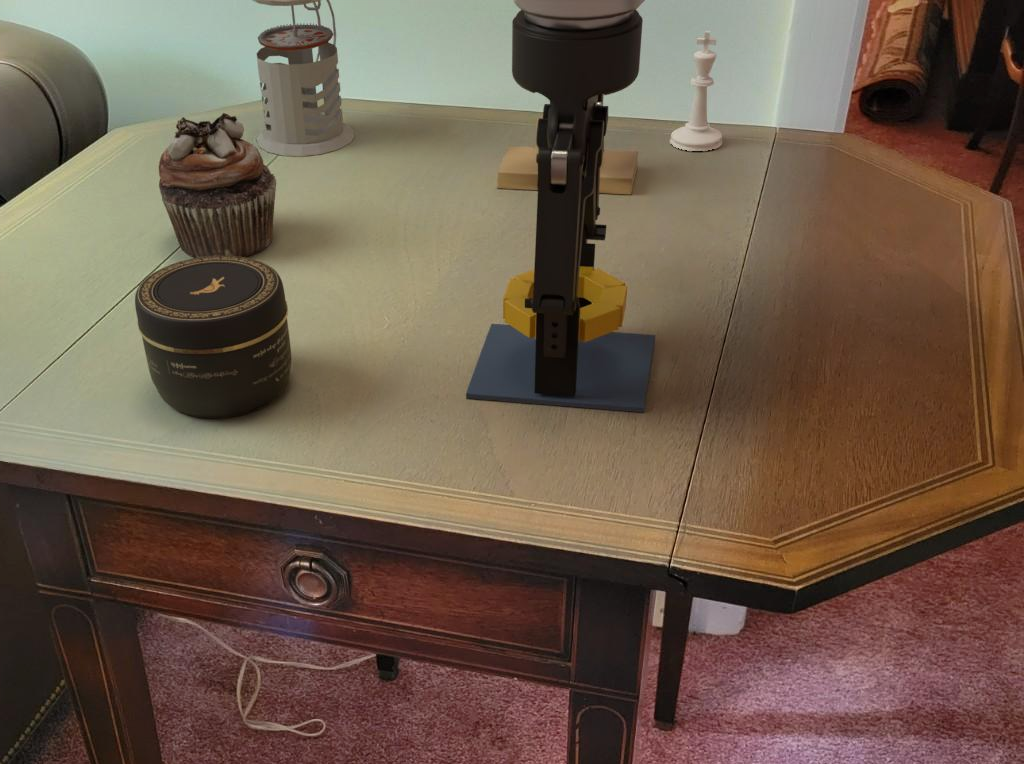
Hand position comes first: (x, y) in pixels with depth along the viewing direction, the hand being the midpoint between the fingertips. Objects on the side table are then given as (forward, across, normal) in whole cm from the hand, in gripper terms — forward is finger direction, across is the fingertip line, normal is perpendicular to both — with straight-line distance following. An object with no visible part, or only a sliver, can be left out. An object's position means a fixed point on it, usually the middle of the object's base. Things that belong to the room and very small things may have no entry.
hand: (563, 359), depth 85 cm
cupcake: (+1, -17, -31) cm, 35 cm away
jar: (+1, +6, -23) cm, 24 cm away
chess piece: (+1, -44, +7) cm, 45 cm away
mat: (+1, 0, 0) cm, 1 cm away
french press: (+1, -42, -31) cm, 52 cm away
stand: (+1, -34, -4) cm, 34 cm away
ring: (-4, 0, 0) cm, 4 cm away
